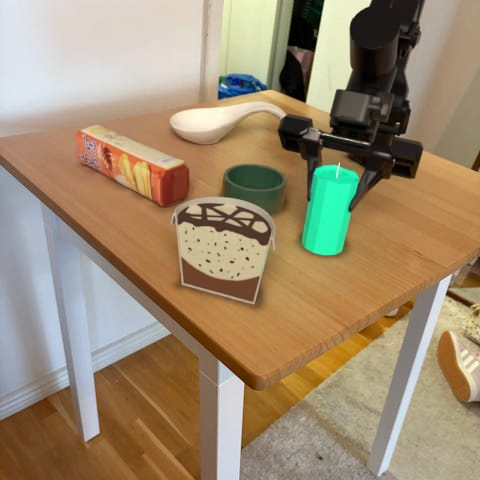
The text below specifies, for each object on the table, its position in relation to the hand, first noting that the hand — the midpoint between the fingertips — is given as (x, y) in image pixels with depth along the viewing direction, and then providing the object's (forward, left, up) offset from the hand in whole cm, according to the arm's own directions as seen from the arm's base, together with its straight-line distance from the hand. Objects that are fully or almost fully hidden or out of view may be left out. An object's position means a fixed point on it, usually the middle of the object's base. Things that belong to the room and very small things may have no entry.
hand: (328, 205), depth 70 cm
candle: (-1, -1, -7) cm, 7 cm away
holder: (+1, -16, -7) cm, 17 cm away
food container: (+16, +1, -7) cm, 17 cm away
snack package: (+16, -29, -7) cm, 34 cm away
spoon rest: (-9, -39, -7) cm, 40 cm away
